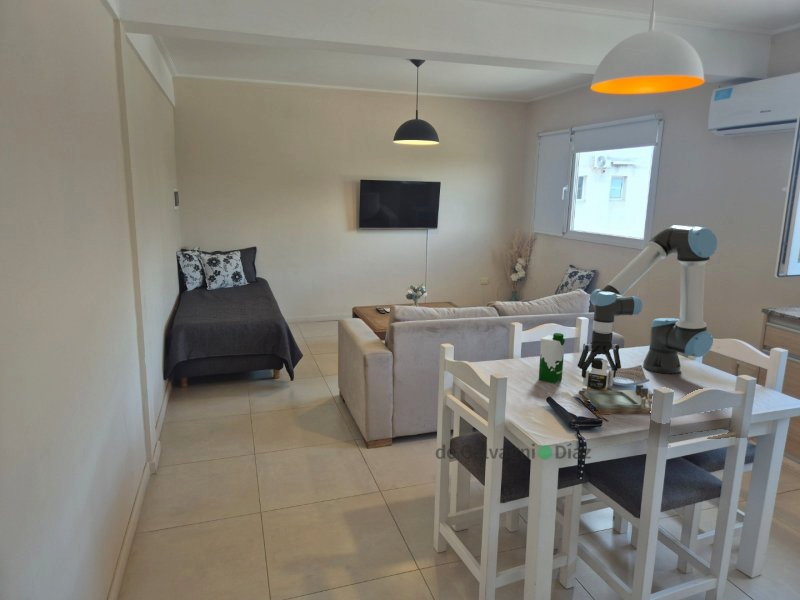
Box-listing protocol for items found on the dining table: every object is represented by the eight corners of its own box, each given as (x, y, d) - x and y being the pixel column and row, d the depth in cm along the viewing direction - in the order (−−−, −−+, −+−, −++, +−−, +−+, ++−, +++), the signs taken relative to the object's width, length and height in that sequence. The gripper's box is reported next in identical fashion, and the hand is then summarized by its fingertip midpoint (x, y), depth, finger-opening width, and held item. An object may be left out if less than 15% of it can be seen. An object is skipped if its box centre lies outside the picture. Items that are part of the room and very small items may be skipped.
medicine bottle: (586, 389, 216) (589, 360, 214) (589, 383, 222) (591, 355, 220) (605, 392, 213) (608, 363, 210) (607, 386, 219) (610, 358, 217)
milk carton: (555, 384, 220) (559, 337, 216) (535, 379, 226) (538, 333, 222) (564, 379, 227) (568, 333, 223) (544, 374, 232) (547, 329, 228)
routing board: (648, 393, 213) (649, 382, 212) (676, 413, 193) (678, 401, 192) (578, 393, 211) (579, 382, 210) (600, 413, 191) (601, 402, 190)
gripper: (625, 328, 217) (620, 381, 222) (571, 328, 216) (567, 382, 220) (634, 333, 210) (628, 388, 214) (578, 333, 208) (574, 388, 213)
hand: (597, 385), depth 217 cm, fingers closed on medicine bottle, 9 cm apart
